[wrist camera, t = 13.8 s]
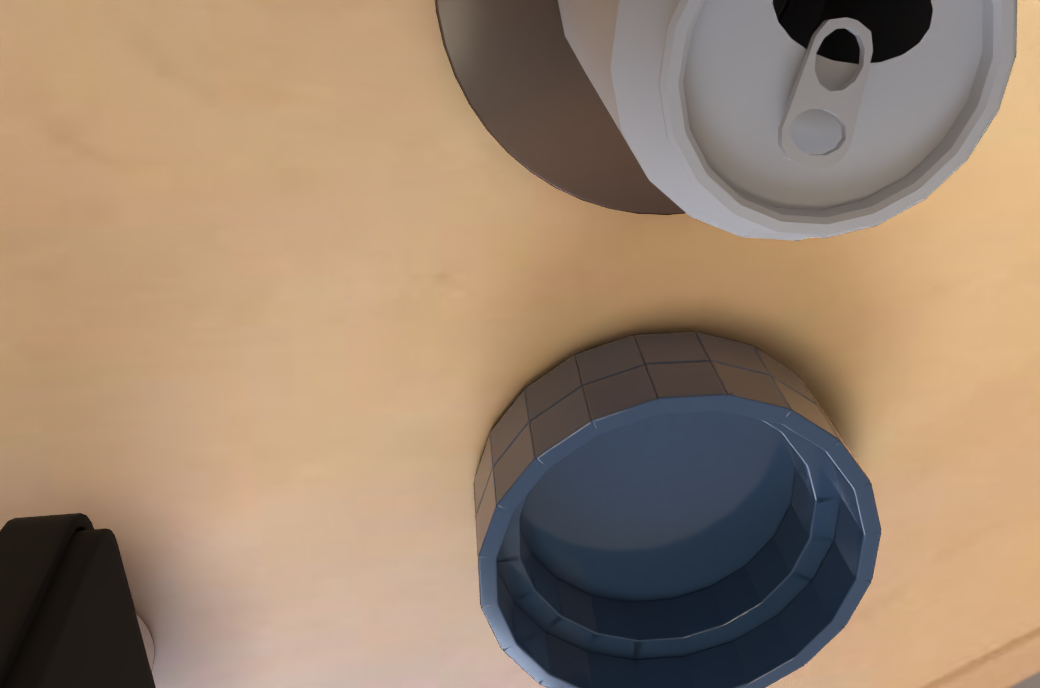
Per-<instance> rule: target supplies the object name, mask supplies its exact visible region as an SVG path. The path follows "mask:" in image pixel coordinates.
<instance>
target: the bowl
mask: <svg viewBox="0 0 1040 688" xmlns="http://www.w3.org/2000/svg"><path fill="white" fill-rule="evenodd" d="M474 499H475V519H476V538H477V556H478V573H479V592H480V605H481V608H482V610H483V612H484V615H485V617H486V619H487V621H488V623H489V625H490V627H491V629H492V631H493V633H494V635H495V637H496V639H497V641H498V643H499V645H500V647H501V649H503V651H504V652H505V653H506V654H507V655H508V656H509V657H510V658H511V659H513V660H514V661H515V662H516V663H517V664H518V665H519V666H520V667H521V668H522V669H523V670H525V671H526V672H527V673H528V674H529V675H530V676H531V677H532V678H533V679H534V680H535V681H537V682H538V683H539V684H540V685H543V686H545V687H547V688H765V687H767V686H769V685H771V684H772V683H774V682H776V681H778V680H779V679H781V678H783V677H785V676H786V675H788V674H790V673H792V672H794V671H795V670H797V669H799V668H801V667H802V666H804V665H805V664H806V663H807V662H808V661H810V660H811V659H812V658H813V657H814V656H815V655H816V654H817V653H818V652H819V651H820V650H821V649H822V648H823V647H824V646H825V645H826V644H827V643H829V642H830V641H831V640H832V639H833V638H834V637H835V636H836V635H837V634H838V633H839V632H840V631H841V630H842V629H843V628H844V627H845V625H846V624H847V623H848V621H849V619H850V618H851V616H852V614H853V612H854V611H855V609H856V607H857V606H858V604H859V602H860V600H861V599H862V597H863V595H864V594H865V592H866V590H867V588H868V587H869V585H870V583H871V580H872V578H873V572H874V567H875V562H876V557H877V551H878V546H879V541H880V535H881V526H880V521H879V517H878V512H877V507H876V503H875V498H874V494H873V489H872V484H871V482H870V480H869V478H868V477H867V475H866V474H865V472H864V471H863V469H862V468H861V466H860V465H859V463H858V461H857V460H856V458H855V457H854V455H853V454H852V452H851V451H850V449H849V448H848V446H847V445H846V443H845V442H844V440H843V439H842V437H841V436H840V434H839V433H838V431H837V430H836V428H835V426H834V425H833V423H832V422H831V420H830V419H829V417H828V416H827V414H826V413H825V411H824V410H823V409H822V407H821V406H820V405H819V403H818V402H817V400H816V399H815V398H814V396H813V395H812V393H811V392H810V391H809V389H808V388H807V387H806V385H805V384H804V382H803V381H802V380H801V378H800V377H799V376H798V375H797V374H796V373H794V372H793V371H791V370H790V369H788V368H787V367H785V366H783V365H782V364H780V363H779V362H777V361H776V360H774V359H773V358H771V357H769V356H768V355H766V354H765V353H763V352H762V351H760V350H759V349H757V348H755V347H752V345H749V344H745V343H741V342H737V341H733V340H729V339H725V338H721V337H717V336H713V335H709V334H705V333H701V332H678V333H659V334H639V335H635V336H633V335H631V336H628V337H625V338H622V339H619V340H616V341H613V342H610V343H607V344H604V345H601V346H598V347H595V348H592V349H589V350H587V351H584V352H581V353H578V354H576V355H575V356H574V355H573V356H571V357H570V358H569V359H567V360H566V361H564V362H563V363H561V364H560V365H558V366H557V367H556V368H554V369H553V370H551V371H550V372H548V373H547V374H545V375H544V376H543V377H541V378H540V379H538V380H537V381H535V382H534V383H532V384H531V385H530V386H528V387H527V388H526V389H524V390H523V392H522V393H521V394H520V395H519V397H518V398H517V399H516V400H515V402H514V403H513V404H512V406H511V407H510V408H509V409H508V411H507V412H506V413H505V414H504V416H503V417H502V418H501V420H500V421H499V422H498V423H497V425H496V426H495V427H494V429H493V430H492V431H491V434H490V436H489V438H488V441H487V444H486V447H485V450H484V453H483V456H482V459H481V462H480V465H479V468H478V471H477V474H476V477H475V480H474Z"/></svg>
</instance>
